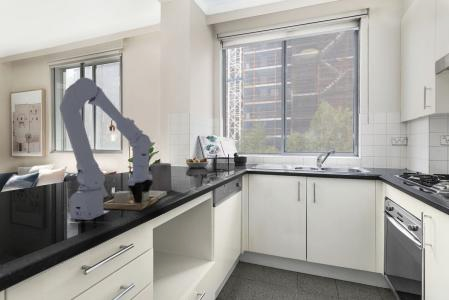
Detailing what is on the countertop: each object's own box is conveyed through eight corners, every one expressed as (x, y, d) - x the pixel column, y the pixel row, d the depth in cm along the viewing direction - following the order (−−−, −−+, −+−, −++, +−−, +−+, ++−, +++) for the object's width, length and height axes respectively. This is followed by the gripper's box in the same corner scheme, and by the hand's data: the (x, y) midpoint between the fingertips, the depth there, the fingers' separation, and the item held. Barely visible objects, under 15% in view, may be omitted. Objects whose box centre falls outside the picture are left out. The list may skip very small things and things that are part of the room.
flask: (86, 198, 104) (85, 175, 104) (101, 195, 110) (101, 173, 110) (96, 200, 101) (96, 176, 100) (111, 197, 107) (111, 174, 107)
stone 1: (126, 204, 91) (126, 193, 90) (114, 205, 90) (114, 193, 90) (130, 202, 94) (129, 191, 94) (118, 202, 94) (118, 191, 94)
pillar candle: (155, 189, 124) (154, 160, 124) (173, 189, 124) (173, 160, 124) (148, 193, 115) (147, 162, 114) (168, 193, 114) (168, 162, 114)
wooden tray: (140, 211, 83) (140, 205, 83) (101, 209, 86) (101, 203, 86) (158, 201, 97) (158, 196, 97) (124, 200, 100) (124, 195, 100)
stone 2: (144, 205, 88) (143, 193, 88) (132, 205, 89) (132, 193, 89) (149, 203, 92) (149, 191, 92) (138, 202, 93) (138, 191, 93)
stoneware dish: (155, 201, 98) (155, 196, 97) (132, 200, 99) (132, 195, 99) (166, 195, 108) (166, 191, 108) (145, 195, 110) (145, 190, 110)
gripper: (140, 167, 83) (140, 206, 83) (159, 164, 97) (159, 197, 97) (121, 167, 84) (122, 205, 84) (143, 164, 98) (143, 196, 99)
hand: (141, 201), depth 91 cm, fingers closed on stone 2, 4 cm apart
